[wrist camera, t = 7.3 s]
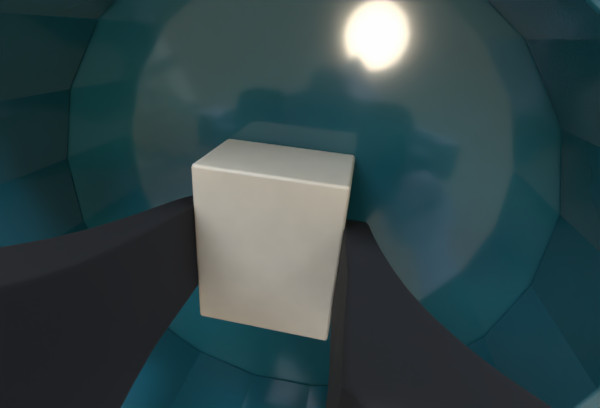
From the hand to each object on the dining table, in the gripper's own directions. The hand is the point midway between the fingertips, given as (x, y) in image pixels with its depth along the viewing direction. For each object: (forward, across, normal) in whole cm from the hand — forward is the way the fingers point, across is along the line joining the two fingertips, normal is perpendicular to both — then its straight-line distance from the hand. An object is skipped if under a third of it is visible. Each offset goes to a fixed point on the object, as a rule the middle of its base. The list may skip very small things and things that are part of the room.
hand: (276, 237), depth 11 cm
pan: (+2, 0, 0) cm, 2 cm away
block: (+1, 0, 0) cm, 1 cm away
